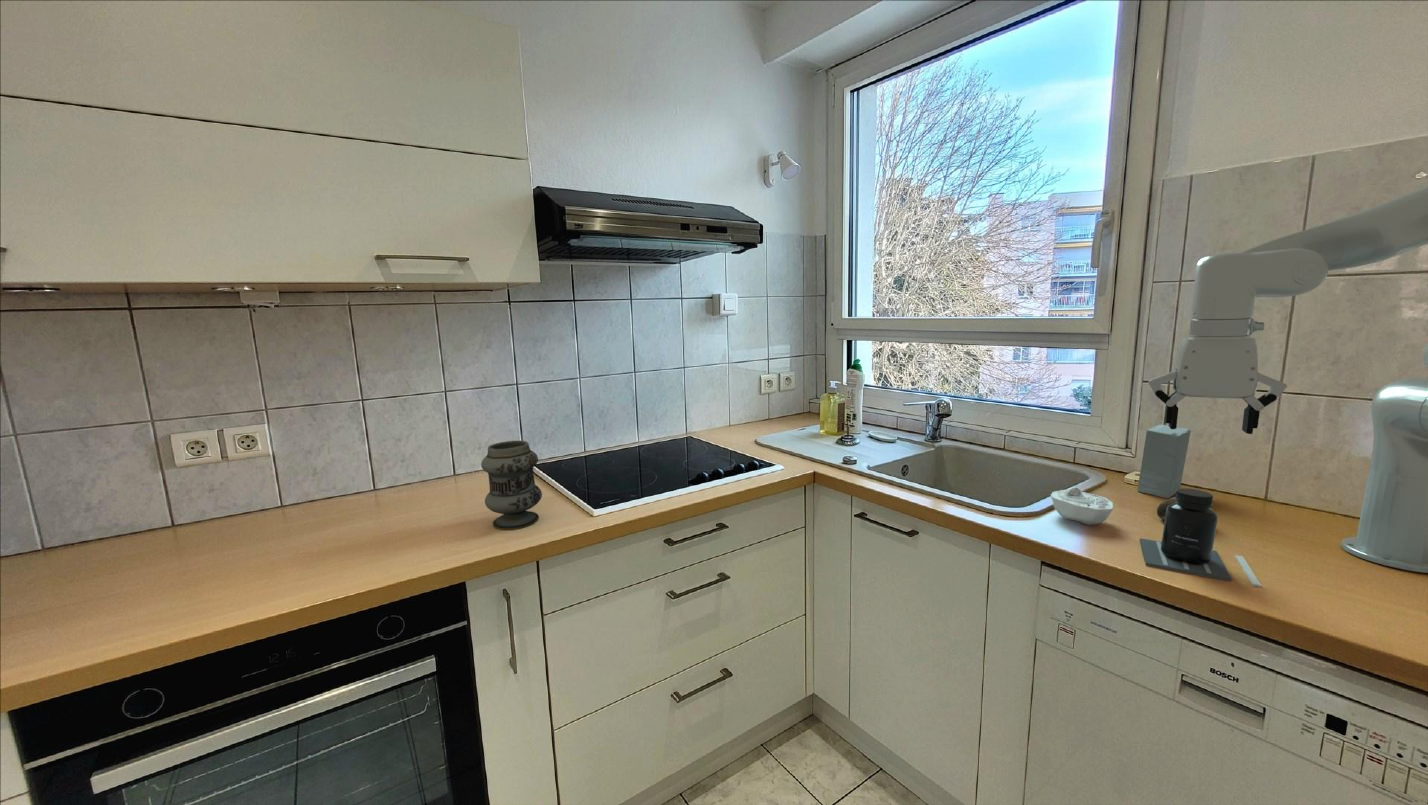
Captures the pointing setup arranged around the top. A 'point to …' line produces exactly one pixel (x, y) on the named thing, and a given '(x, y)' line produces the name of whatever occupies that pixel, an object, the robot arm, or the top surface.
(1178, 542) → the supplement bottle
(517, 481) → the apothecary jar
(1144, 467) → the skincare box
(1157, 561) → the mat
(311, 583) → the top surface
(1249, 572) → the strip
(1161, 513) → the mushroom
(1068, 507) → the cell model
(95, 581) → the top surface
